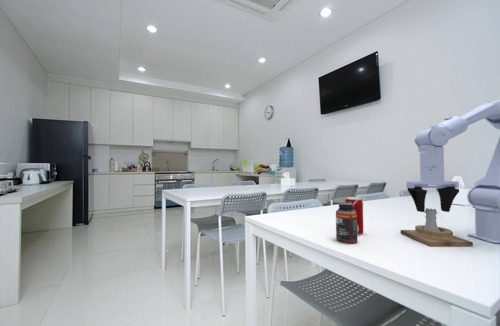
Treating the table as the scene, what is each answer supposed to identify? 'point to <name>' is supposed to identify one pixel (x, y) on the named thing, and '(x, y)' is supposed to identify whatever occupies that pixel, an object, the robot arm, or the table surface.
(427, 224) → the rook chess piece
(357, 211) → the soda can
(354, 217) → the supplement bottle
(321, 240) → the table surface
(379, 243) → the table surface
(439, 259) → the table surface
